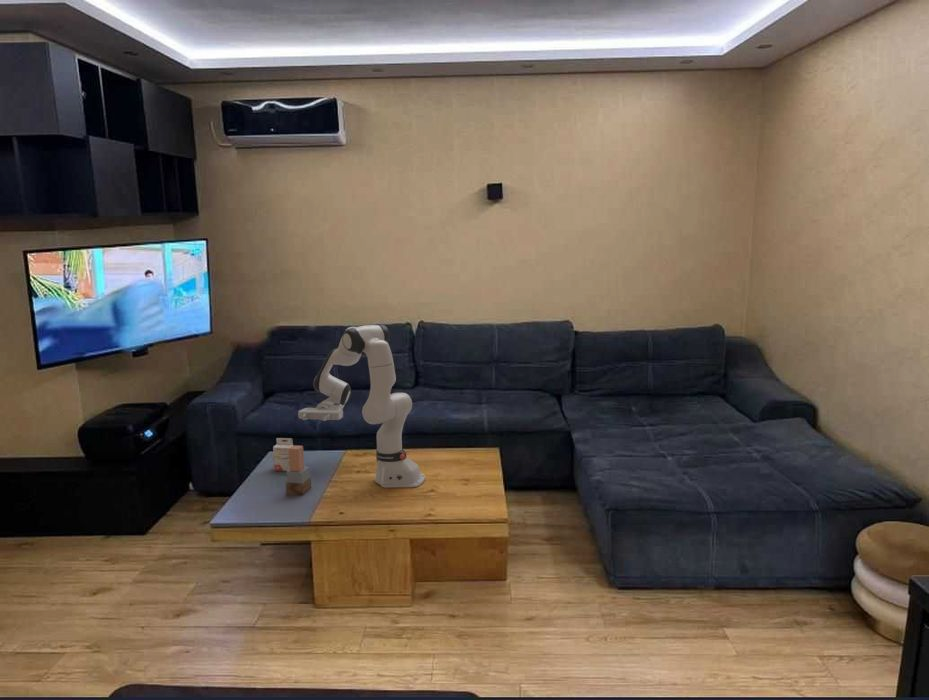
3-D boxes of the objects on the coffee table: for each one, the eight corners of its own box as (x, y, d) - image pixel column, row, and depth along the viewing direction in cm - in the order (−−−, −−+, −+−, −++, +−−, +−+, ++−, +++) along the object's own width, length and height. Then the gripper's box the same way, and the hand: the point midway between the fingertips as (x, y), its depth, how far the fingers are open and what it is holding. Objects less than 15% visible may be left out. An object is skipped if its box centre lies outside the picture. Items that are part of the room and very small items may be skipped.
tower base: (311, 487, 294) (310, 477, 293) (303, 495, 286) (302, 484, 285) (294, 486, 295) (293, 476, 294) (286, 494, 288) (285, 483, 287)
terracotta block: (304, 467, 290) (302, 445, 288) (299, 471, 286) (298, 449, 284) (294, 467, 291) (293, 445, 289) (290, 470, 287) (288, 448, 285)
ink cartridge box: (274, 470, 314) (271, 441, 311) (277, 467, 319) (275, 437, 316) (291, 471, 313) (289, 441, 310) (295, 467, 318) (293, 437, 315)
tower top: (309, 477, 292) (308, 466, 291) (302, 483, 286) (301, 472, 285) (295, 476, 294) (294, 465, 293) (287, 482, 287) (286, 471, 286)
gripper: (304, 403, 319) (291, 411, 305) (345, 404, 314) (333, 412, 301) (305, 416, 320) (292, 424, 307) (346, 417, 316) (334, 426, 302)
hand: (313, 418), depth 304 cm, fingers open, 8 cm apart
